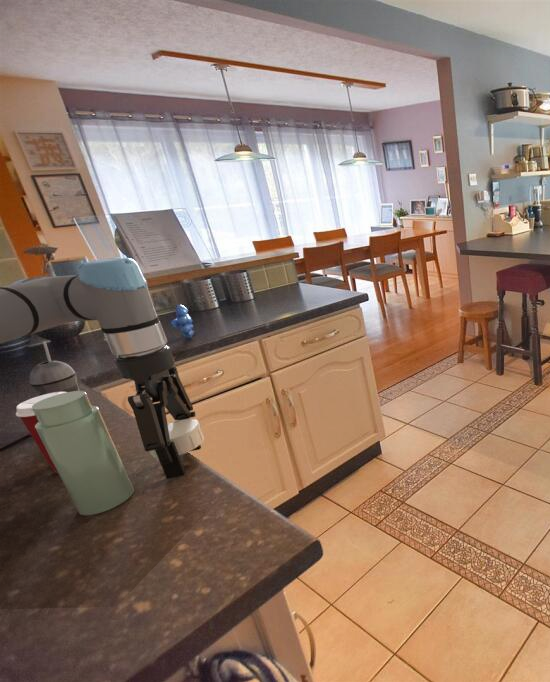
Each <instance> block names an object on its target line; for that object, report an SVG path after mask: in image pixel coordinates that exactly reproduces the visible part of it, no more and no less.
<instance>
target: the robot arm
mask: <svg viewBox="0 0 550 682" xmlns="http://www.w3.org/2000/svg"><path fill="white" fill-rule="evenodd" d="M76 271H77V275H75V274H74V275H58V276H57V275H56V276H36V277H29V278H25V279H20V280H16V281H14V282H12V283H11V284H10V285H5V286H0V345H1V344H4V343H7V342H9V341H12V340H17V339H19V338H23V337H26V336H30V335H33V334H36V333H39V332H43V331H46V330H49V329H52V328H55V327H58V326H61V325H65V324H70V323H75V322H85V321H86V322H87V321H97V322H98V325H99V326H100V329H101V332H102V333H103V335H104V336H103V341H104V342H106V343H107V345H108V348H109V350H110V352H111V354H112V355H114V356H115V358H114V360H113V361H114V364H115V366H116V368H117V370H118V373H119V375H120V377H121V378H122V379H126V380H131V381H133V382H134V387H135V391H136V393H135V394H134V395H129V396H128V397H127V402H128V404H129V406H130V407H131V409H132V411H133V415H134V418H135V419H134V420H135V422H136V425H137V428H138V432H139V435H140V439H141V442H142V446H143V448H144V449H143V450H144V451H145V452H150V451H151V450H155V451H156V454H157V456H158V458H159V459H158V462H159V463H160V466H161V468H162V470H163V473H164V476H165V477H166V479H171V478H176V477H180V476H184V475H186V473H187V472H186V469H185V467H184V464H183V461H182V459H181V457H180V456H181V455H179V454H178V451H177V449H176V446H175V444H174V442H170V437H169V431H168V425H167V424H168V419H167V413H166V410H167V412H168V413H169V415H170V416H171V417H172V419H174V421H178V420H184V419H192V418H195V417H196V411H194V406H193V403H192V402H191V400H190V398H189V395H188V393H187V391H186V389H185V387H184V385H183V382H182V381H181V379H180V376H179V371H178V368H177V366H175V362H176V361H175V359H174V356H173V353H172V351H171V349H170V348H171V347H170V346H168V345H167V343H168V339H167V336H166V333H165V330H164V328H163V325H162V322H161V321H160V318H159V316H158V313H157V312H156V308H155V305H154V303H153V300H152V296H151V293H150V289H149V286H148V281H147V279H145V277H144V275H143V272H142V270H141V268H140V266H139V264H138V262H137V261H136V260H135V259H133V258H130V257H115V258H106V259H105V258H104V259H98V260H91V261H85V262H82V263H79V264H78V265H77V266H76ZM201 445H202V444H200V445H199V446H198V447H196V448H195V449H193V450H191V451H189V452H194V451H200V450H201V449H202V446H201ZM189 452H188V453H189Z"/></svg>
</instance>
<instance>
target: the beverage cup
mask: <svg viewBox="0 0 550 682" xmlns="http://www.w3.org/2000/svg"><path fill="white" fill-rule="evenodd" d="M42 345H43V349H44V353H45V355H46V359H47V361H43V362H40V363H38V364H37V365H35V366H34V367H33V368H32V370H31V371H30V373H29V383H30V387H32V388H33V390H34V391H35V392H36V393H37V394H38V396H41V395H45V394H49V393H55V392H72V391H80V388H79V385H78V378H77V372H76V371H75V370H74V369H73V368H72V367H71V366H70V365H69V364H68V363H66V362H63V361H59V360H52V358H51V354H50V352H49V351H50V350H49V347H48V345H47V340H42Z"/></svg>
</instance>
